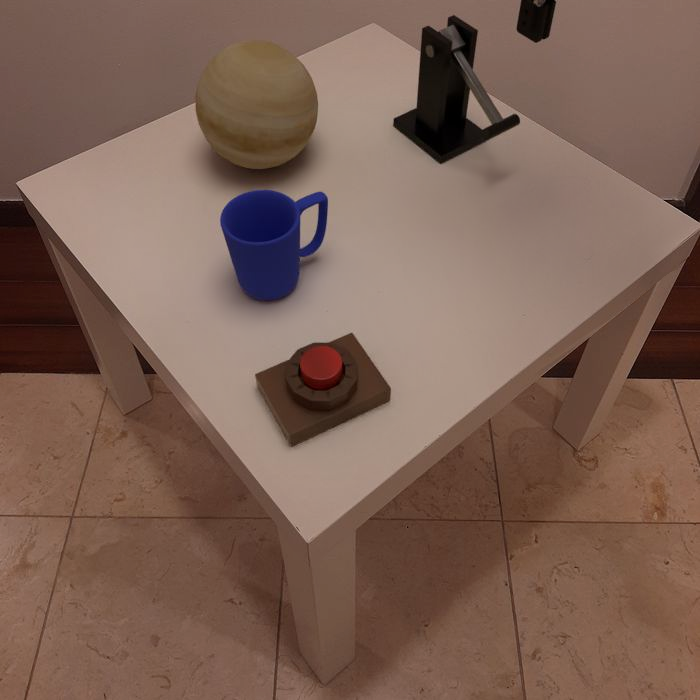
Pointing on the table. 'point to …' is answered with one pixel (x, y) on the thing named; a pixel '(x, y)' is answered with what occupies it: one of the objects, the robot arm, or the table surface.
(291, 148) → the decorative ball
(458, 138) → the switch bracket
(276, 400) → the button block
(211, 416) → the table surface
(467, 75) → the switch lever
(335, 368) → the power button
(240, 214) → the mug
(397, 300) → the table surface
